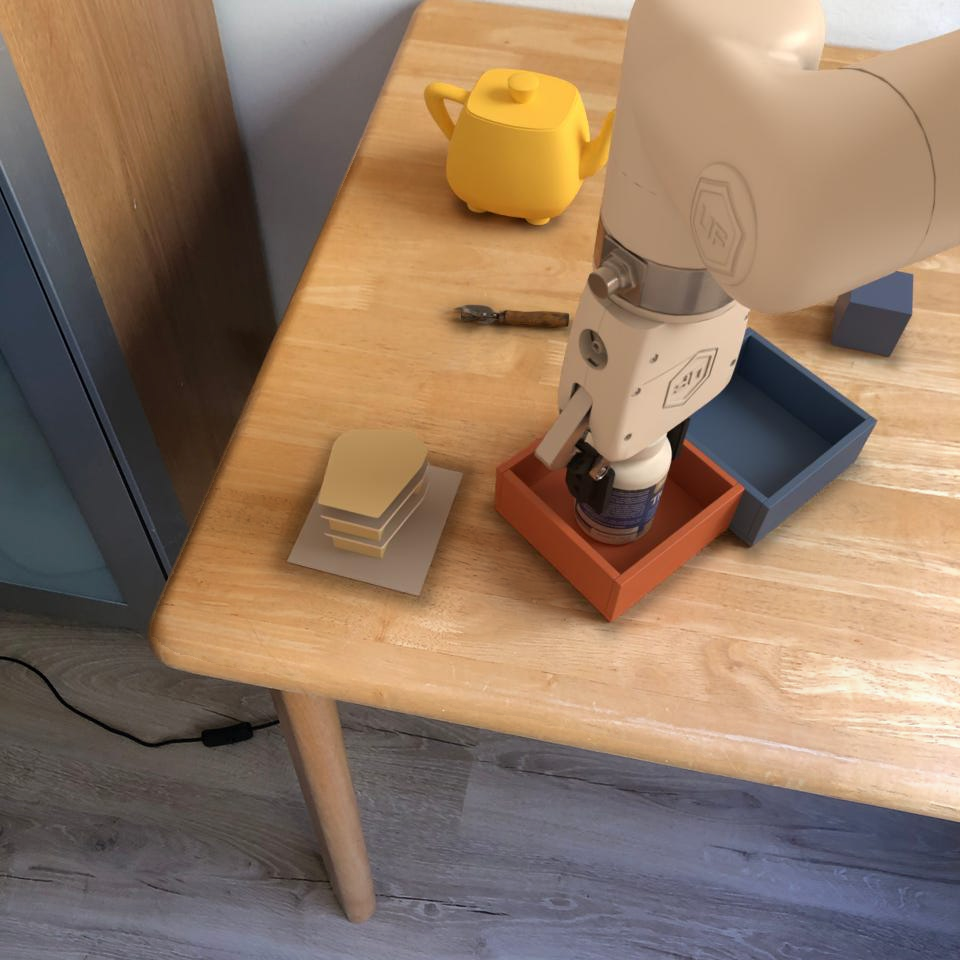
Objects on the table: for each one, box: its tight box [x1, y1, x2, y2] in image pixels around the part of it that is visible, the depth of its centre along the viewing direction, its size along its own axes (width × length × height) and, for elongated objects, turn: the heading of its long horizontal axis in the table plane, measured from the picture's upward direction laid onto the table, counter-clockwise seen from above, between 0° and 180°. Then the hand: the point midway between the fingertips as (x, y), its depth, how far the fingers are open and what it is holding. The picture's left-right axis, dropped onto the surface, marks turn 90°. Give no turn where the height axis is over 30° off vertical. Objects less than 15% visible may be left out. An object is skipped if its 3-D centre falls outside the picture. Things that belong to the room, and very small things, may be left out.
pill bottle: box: [574, 432, 671, 545], centre depth 60 cm, size 5×5×10 cm
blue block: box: [830, 270, 915, 357], centre depth 74 cm, size 4×4×4 cm
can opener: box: [453, 304, 570, 328], centre depth 75 cm, size 9×2×1 cm, turn 79°
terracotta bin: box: [493, 434, 745, 623], centre depth 63 cm, size 11×11×5 cm
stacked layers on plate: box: [286, 428, 464, 597], centre depth 62 cm, size 10×9×6 cm
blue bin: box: [685, 326, 878, 548], centre depth 66 cm, size 11×11×5 cm
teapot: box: [423, 68, 615, 226], centre depth 80 cm, size 18×11×11 cm, turn 73°
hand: (622, 469), depth 60 cm, fingers open, 5 cm apart
